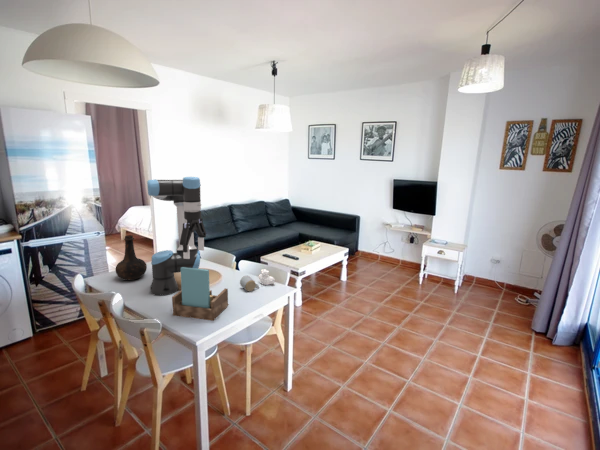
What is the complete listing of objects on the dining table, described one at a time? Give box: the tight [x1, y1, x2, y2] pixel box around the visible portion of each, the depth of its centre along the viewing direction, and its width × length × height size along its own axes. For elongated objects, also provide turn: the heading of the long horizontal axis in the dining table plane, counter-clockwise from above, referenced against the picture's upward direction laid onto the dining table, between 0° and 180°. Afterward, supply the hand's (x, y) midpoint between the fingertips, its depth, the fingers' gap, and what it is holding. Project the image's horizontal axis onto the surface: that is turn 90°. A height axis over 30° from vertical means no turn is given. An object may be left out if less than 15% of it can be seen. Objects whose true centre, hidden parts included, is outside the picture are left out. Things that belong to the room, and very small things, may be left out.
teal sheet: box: [180, 267, 211, 309], centre depth 154 cm, size 14×2×24 cm, turn 79°
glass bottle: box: [115, 234, 148, 281], centre depth 200 cm, size 18×18×28 cm
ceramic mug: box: [239, 275, 260, 292], centre depth 192 cm, size 11×8×8 cm
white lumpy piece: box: [257, 268, 276, 286], centre depth 199 cm, size 12×8×11 cm
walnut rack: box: [171, 288, 230, 322], centre depth 161 cm, size 22×18×11 cm
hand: (194, 254), depth 150 cm, fingers open, 13 cm apart
